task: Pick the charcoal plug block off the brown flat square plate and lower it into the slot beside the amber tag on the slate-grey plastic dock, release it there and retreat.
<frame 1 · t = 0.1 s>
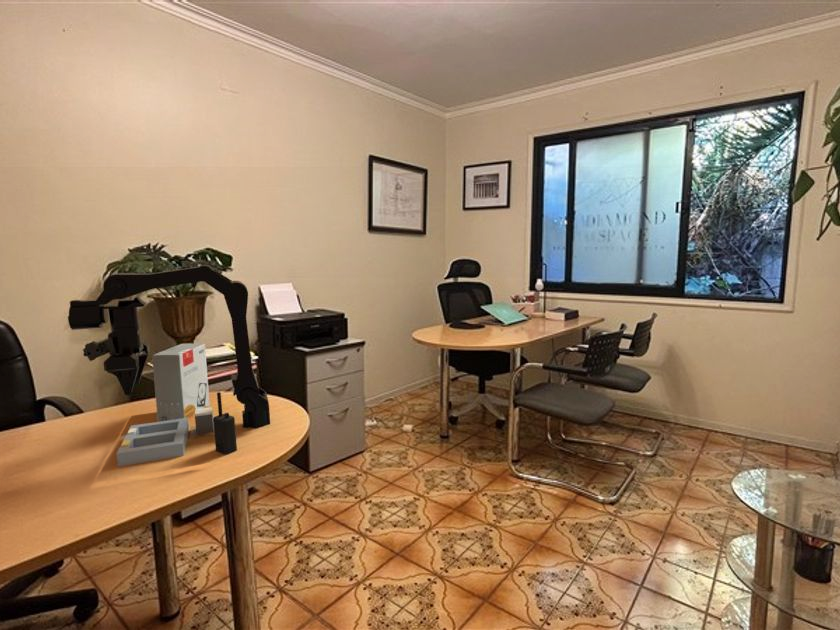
hand: (132, 389, 112), 15 cm above the table, fingers open, 9 cm apart
brown flat square plate: (205, 433, 121), on the table
plug: (205, 430, 121), point 1 cm above the table, touching brown flat square plate
dock: (157, 449, 112), on the table
walkie-talkie: (226, 455, 109), on the table
hard drive box: (185, 415, 134), on the table
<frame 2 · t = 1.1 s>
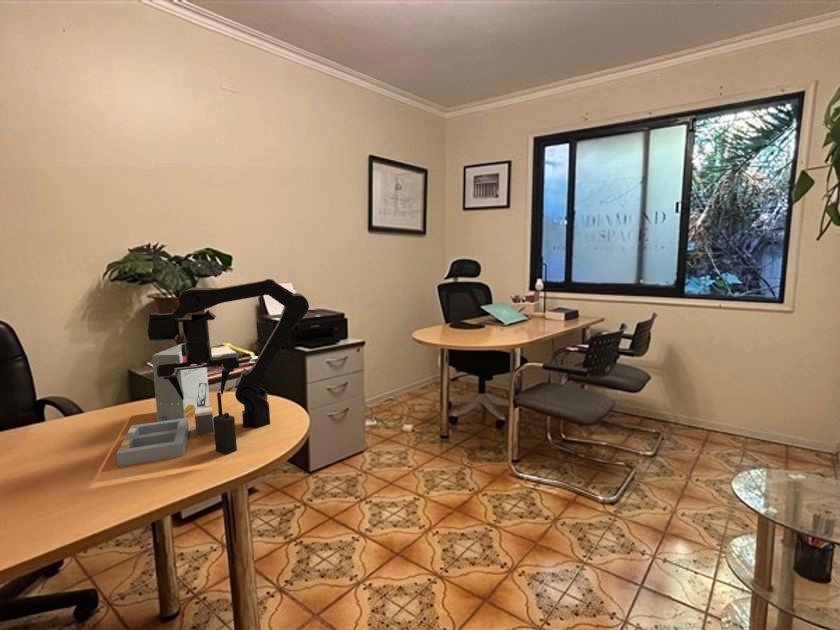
hand: (202, 396, 119), 10 cm above the table, fingers open, 9 cm apart
nothing on the table moved.
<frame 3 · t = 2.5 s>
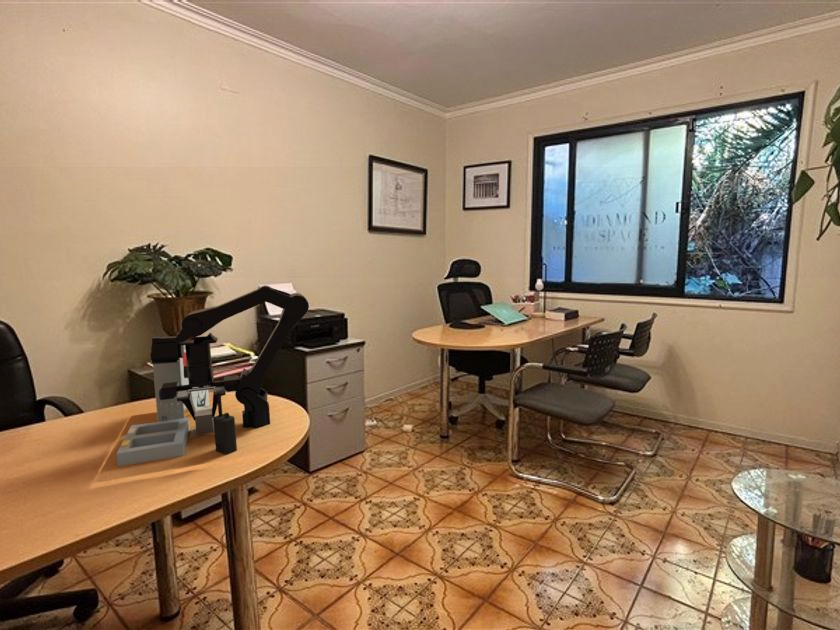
hand: (204, 418, 120), 4 cm above the table, fingers closed on plug, 4 cm apart
plug: (205, 430, 121), point 1 cm above the table, touching brown flat square plate, gripper
everything else where it was.
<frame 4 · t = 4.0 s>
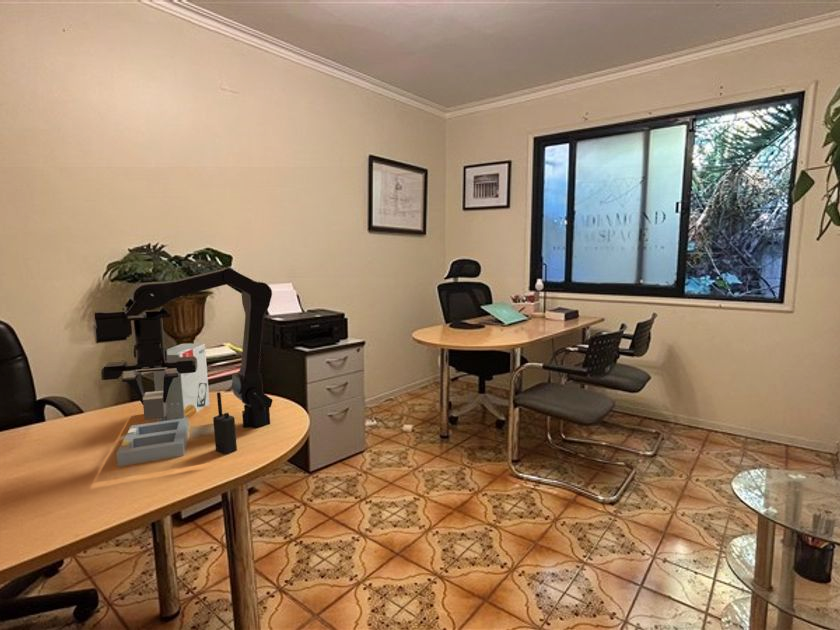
hand: (154, 403, 108), 13 cm above the table, fingers closed on plug, 4 cm apart
plug: (155, 416, 108), point 9 cm above the table, touching gripper
everything else where it was.
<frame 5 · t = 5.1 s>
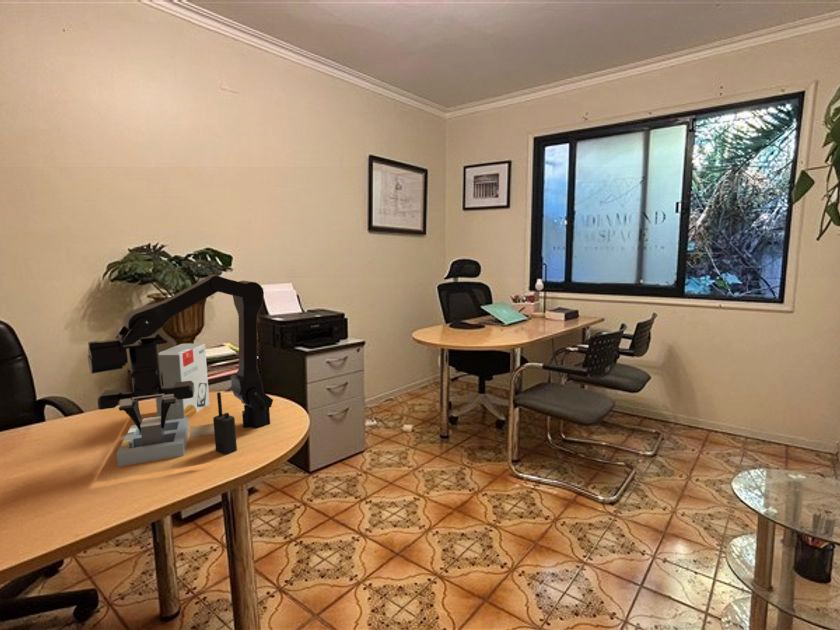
hand: (152, 429, 107), 7 cm above the table, fingers closed on plug, 4 cm apart
plug: (154, 442, 108), point 3 cm above the table, touching gripper
everything else where it was.
when the fingers open (5 cm above the table, at t = 5.7 s): plug drops 1 cm, resting on dock.
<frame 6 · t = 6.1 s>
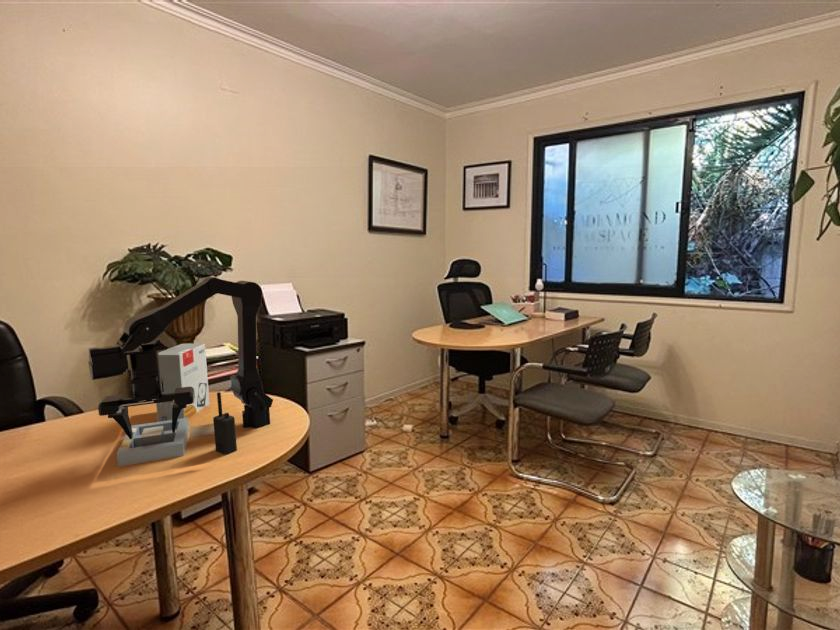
hand: (152, 435, 108), 5 cm above the table, fingers open, 8 cm apart
plug: (154, 451, 108), point 1 cm above the table, touching dock
everything else where it was.
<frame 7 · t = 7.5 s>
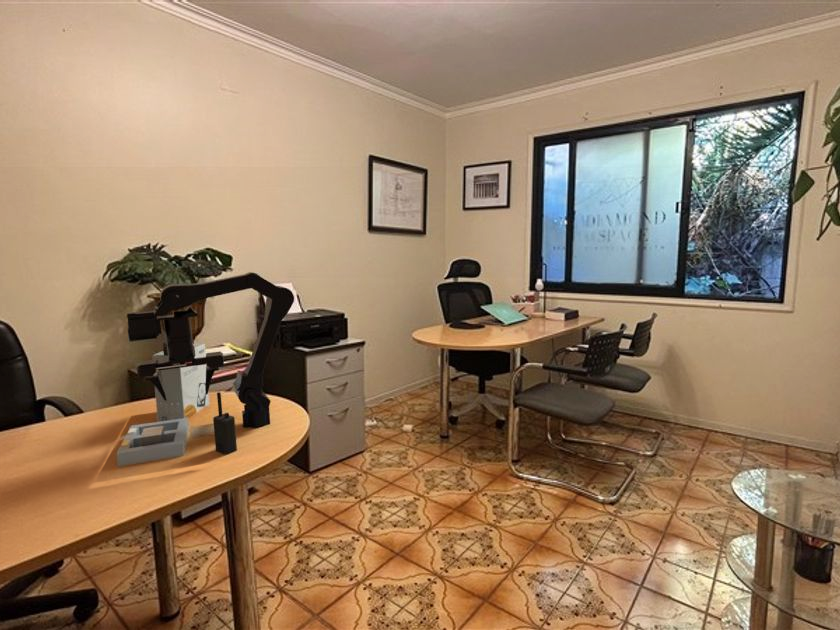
hand: (186, 397, 115), 12 cm above the table, fingers open, 9 cm apart
nothing on the table moved.
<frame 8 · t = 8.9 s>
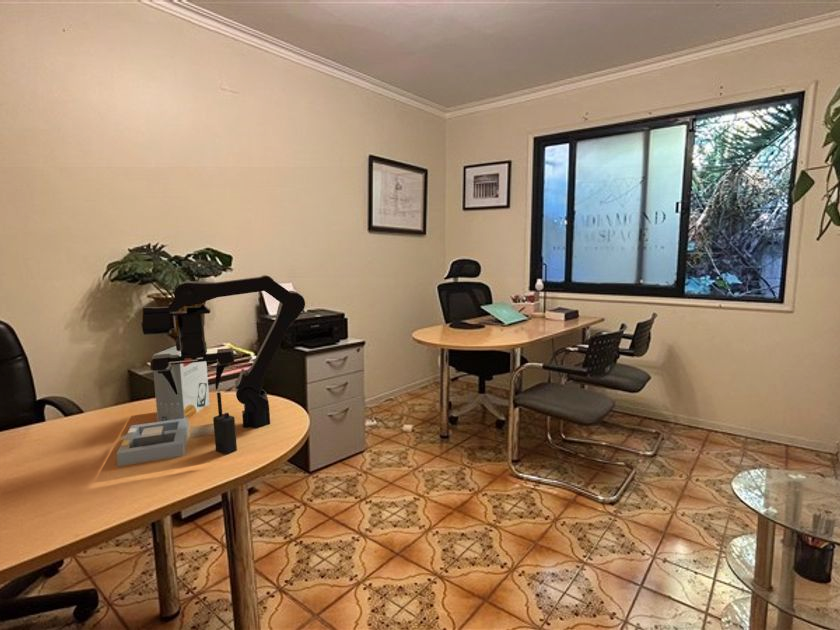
hand: (197, 391, 118), 12 cm above the table, fingers open, 9 cm apart
nothing on the table moved.
at the end: plug 0.1 cm from the target spot on the dock, point 1.0 cm above the dock's base; plug tilted 0°; the gripper is holding nothing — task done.
